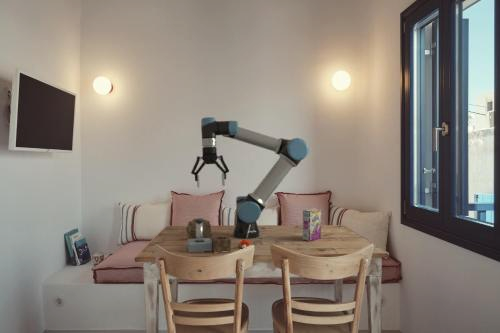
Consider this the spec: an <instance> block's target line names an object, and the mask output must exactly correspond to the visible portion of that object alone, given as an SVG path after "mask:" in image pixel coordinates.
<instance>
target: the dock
mask: <svg viewBox="0 0 500 333" xmlns="http://www.w3.org/2000/svg"><path fill="white" fill-rule="evenodd" d="M186 241H187V243H186V244H187V246H186V247H187V251H188V253H189V254H191V253H190V252H196V253H204V252H203V251H210V252H213V250H212V239H210V237H207V238H203V242H198V243H196V238H189V239H187V240H186Z"/></svg>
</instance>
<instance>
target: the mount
mask: <svg viewBox="0 0 500 333" xmlns="http://www.w3.org/2000/svg"><path fill="white" fill-rule="evenodd" d="M231 241H232V240H231V238H230V237H229V236H228V235H222V236H221V235H219V236H211V242H212V249H213V250H212V252H213V251H214V252H222V251H232V246H231V243H232V242H231ZM214 252H213V253H214Z"/></svg>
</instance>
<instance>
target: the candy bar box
mask: <svg viewBox="0 0 500 333" xmlns="http://www.w3.org/2000/svg"><path fill="white" fill-rule="evenodd" d="M321 229H322V209H321V208H310V209H304V210H302V241H306V242H311V241H315V240H318V239H321V238H322V237H321V236H322V234H321V233H322V231H321Z"/></svg>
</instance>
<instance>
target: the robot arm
mask: <svg viewBox="0 0 500 333" xmlns="http://www.w3.org/2000/svg"><path fill="white" fill-rule="evenodd" d="M200 122H201V124H200V126H201V128H200V129H201V130H200V131H201V146H202V151H201V152H202V156H198V155H197V156H196V161H195V163H194V165H193V167H192V169H191V172H190V174H191V175H194V181H195V182H196V186H197V188H200V186H201V185H200V175H199V173H200V172H201V170H202V169H203V168H204V167H205V166H206V165H215V166H216V167H217V168H218V169H219V170H220V171H221V172H222V173H221V186H222V187H224V186H225V184H226V183H225V182H226V181H225V180H227V173H229V172H230V169H229V168H228V166H227V164H226V162H225V159H224V156H223V155H217V154H218V153H217V149H218V148H217V147H216V146H217V136H222V137H225V138H229V139H232V140H237V141H239V142H242V143H246V144H248V145H252V146H254V147H255V146H256V147H258V148H263V149H265V150H268V151H271V152H274V153H275V154H276V155H279V158H278V159H277V160H276V162H275V163H274V165H273V166H272V167H271V169H270V170H269V171H268V173H266V175H265V176H264V178H263V179H262V180H261V182H259V184H258V185H257V187H256V188H255V189H254V191H253V192H249V193H248V194H247V195H243V196H241V195H240V196H237V197H236V200H235V203H236V204H235V205H236V206H235V207H236V213H235V215H236V217H235V218H236V223H235V227H234V228H233V237H234V238H239V239H246V238H247V239H255V238H259V237H260V229H259V226H258V223H257V221H258V220H259V219H260V217H261V215H262V212H263V211H264V209H266V206H267V205H266V202H267V201H268V200H269V198H270V197H271V196H272V194H273V193H274V192H275V191H276V189H277V188H278V187H279V186H280V185H281V183H282V181H283V180H284V179H285V177H286V176H287V175H288V174H289V172H290V171H291V170H292V168H297V167H298V165H299V164H300V162H301V161H303V160H304V159H306V158H307V156H308V154H309V151H310V150H309V149H310V148H309V147H310V146H309V144H308V143H307V141H305V140H304V139H303V138H299V137H295V138H292V139H287V138H281V137H280V138H277V137H276V138H275V137H273V136H270V135H266V134H263V133H260V132H257V131H253V130H250V129H246V128H244V127H240V126H239V123H238V121H237V120H220V121H219V120H216V118H215V117H210V116H206V117H203V118H201V121H200ZM201 160H202V163H201V164H200V165H199V163H200V161H201ZM217 160H218V161H219V160H220V163H221V165H222V166H221V165H220V164H219V162H218V161H217ZM198 166H199V167H198ZM197 167H198V168H197ZM249 225H251V226H250V230H249V231H253V230H254V231H256V232H249V233H247V232H248V229H249ZM247 234H248V237H247Z"/></svg>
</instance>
